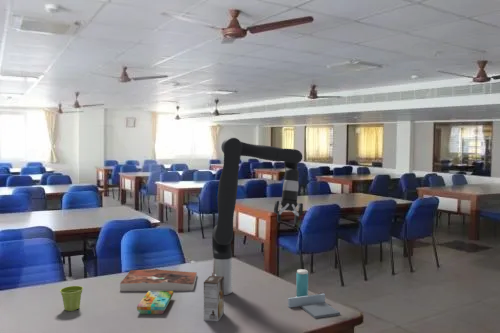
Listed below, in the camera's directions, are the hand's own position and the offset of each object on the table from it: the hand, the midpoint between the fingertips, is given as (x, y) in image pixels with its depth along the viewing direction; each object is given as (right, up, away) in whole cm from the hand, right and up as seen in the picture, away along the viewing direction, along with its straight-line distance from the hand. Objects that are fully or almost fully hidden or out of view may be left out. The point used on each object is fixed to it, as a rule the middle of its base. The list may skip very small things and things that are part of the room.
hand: (287, 223), depth 215 cm
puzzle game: (-60, -35, -20) cm, 72 cm away
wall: (+7, -35, -17) cm, 39 cm away
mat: (+12, -35, -25) cm, 44 cm away
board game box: (-65, -33, +12) cm, 74 cm away
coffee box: (-33, -35, -32) cm, 58 cm away
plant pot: (-96, -35, -24) cm, 105 cm away
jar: (+6, -34, -9) cm, 36 cm away
